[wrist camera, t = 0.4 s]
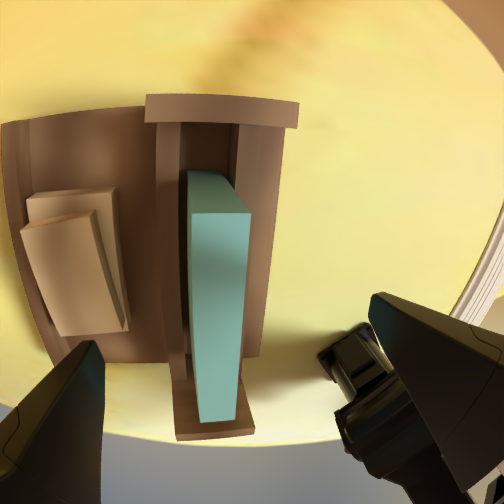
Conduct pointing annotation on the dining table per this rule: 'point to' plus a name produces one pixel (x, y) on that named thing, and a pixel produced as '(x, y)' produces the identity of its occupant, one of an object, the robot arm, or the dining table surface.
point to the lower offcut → (107, 216)
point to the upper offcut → (74, 274)
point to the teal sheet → (215, 288)
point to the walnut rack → (156, 218)
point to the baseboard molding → (484, 280)
